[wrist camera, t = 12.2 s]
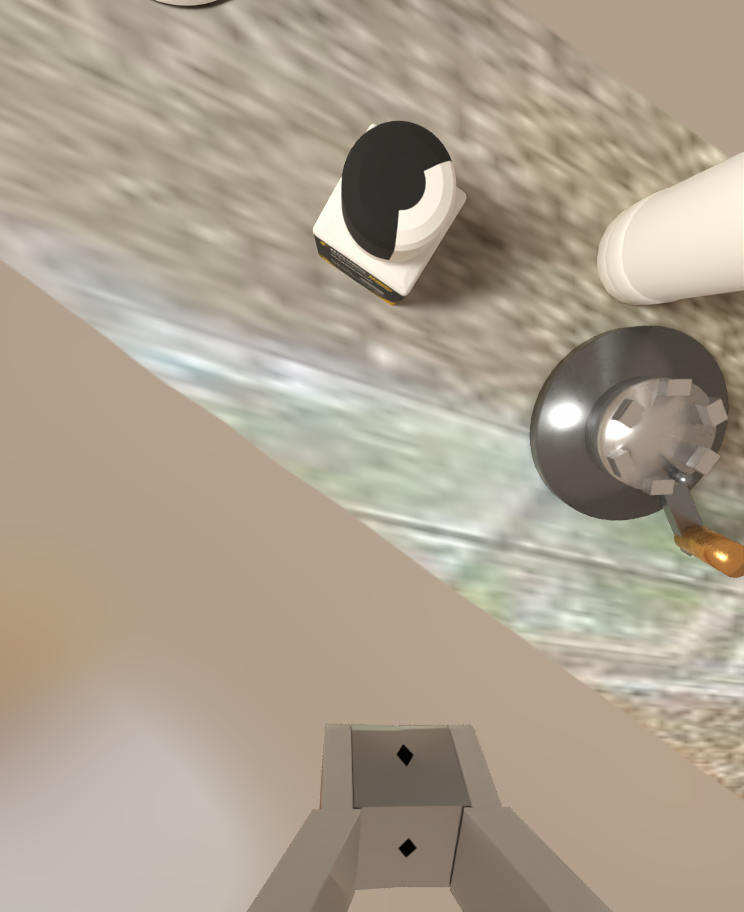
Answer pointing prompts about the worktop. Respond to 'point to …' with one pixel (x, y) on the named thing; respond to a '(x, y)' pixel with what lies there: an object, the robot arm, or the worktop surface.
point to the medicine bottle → (389, 208)
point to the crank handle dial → (664, 454)
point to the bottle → (679, 240)
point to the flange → (580, 388)
